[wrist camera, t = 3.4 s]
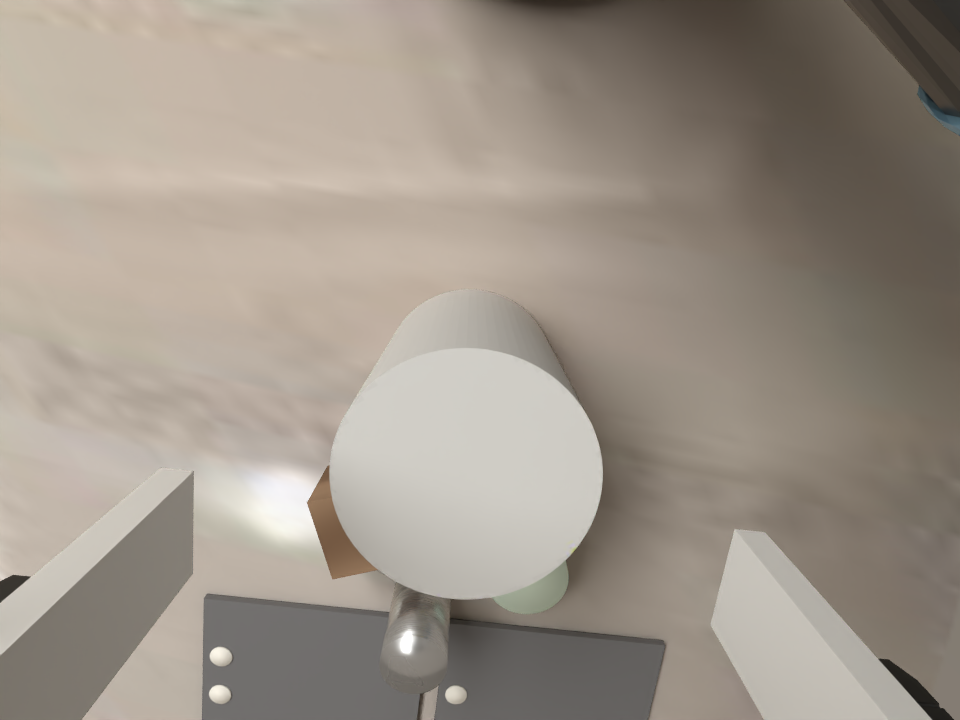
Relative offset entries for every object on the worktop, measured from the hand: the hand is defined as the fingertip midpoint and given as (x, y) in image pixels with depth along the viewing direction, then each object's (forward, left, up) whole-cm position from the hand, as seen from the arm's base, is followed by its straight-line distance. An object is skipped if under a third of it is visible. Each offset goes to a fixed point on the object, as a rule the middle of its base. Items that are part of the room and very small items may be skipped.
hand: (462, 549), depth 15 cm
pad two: (+20, +7, -16) cm, 26 cm away
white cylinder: (0, 0, -16) cm, 16 cm away
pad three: (+20, -6, -16) cm, 26 cm away
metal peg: (+12, -1, -16) cm, 20 cm away
